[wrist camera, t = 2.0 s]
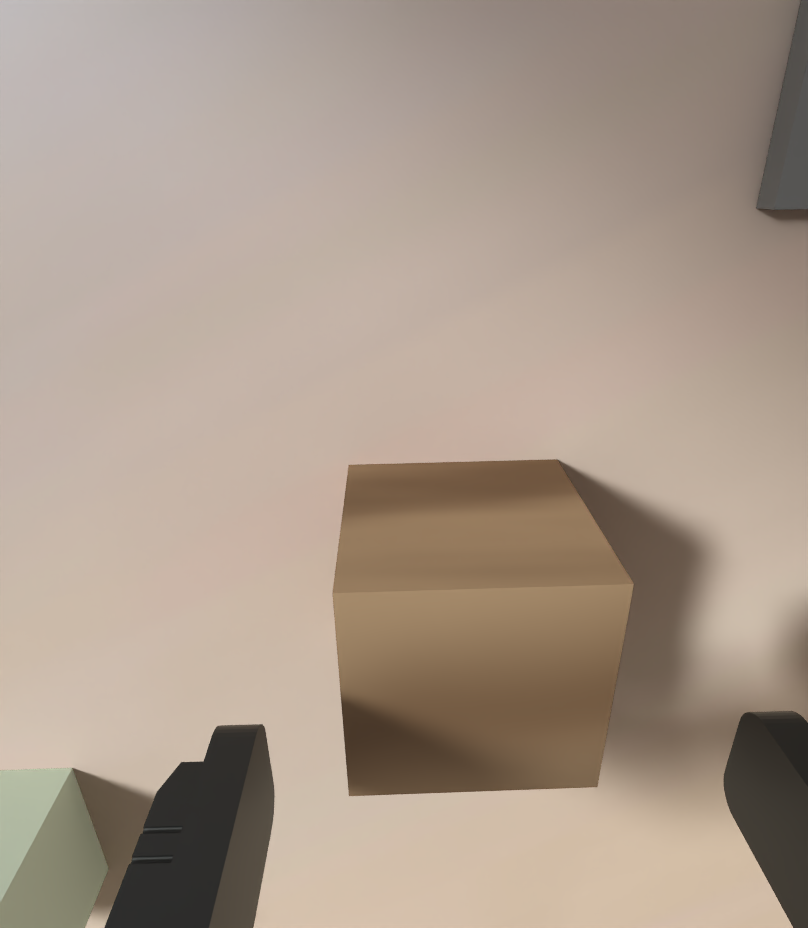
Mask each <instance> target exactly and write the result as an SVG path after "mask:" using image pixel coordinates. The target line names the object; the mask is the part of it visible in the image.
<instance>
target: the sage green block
mask: <svg viewBox="0 0 808 928" xmlns="http://www.w3.org/2000/svg"><path fill="white" fill-rule="evenodd" d="M108 869H109V868H108V865H107V862H106V860H105V857H104V854H103V851H102V849H101V846H100V843H99V840H98V838H97V835H96V832H95V829H94V826H93V824H92V821H91V818H90V815H89V813H88V810H87V807H86V804H85V802H84V799H83V796H82V793H81V790H80V788H79V785H78V782H77V779H76V777H75V774H74V771H73V768H53V769H24V770H0V928H85V926H86V924H87V921H88V919H89V916H90V914H91V911H92V909H93V906H94V904H95V902H96V899H97V897H98V894H99V892H100V889H101V887H102V884H103V882H104V879H105V877H106V874H107V872H108Z"/></svg>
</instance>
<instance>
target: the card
mask: <svg viewBox="0 0 808 928" xmlns="http://www.w3.org/2000/svg"><path fill="white" fill-rule="evenodd" d="M756 208H758V209H772V210H782V209H808V0H801V4H800V8H799V13H798V17H797V22H796V27H795V31H794V36H793V41H792V45H791V50H790V54H789V59H788V64H787V68H786V73H785V78H784V82H783V87H782V92H781V96H780V101H779V105H778V110H777V115H776V119H775V124H774V129H773V133H772V138H771V142H770V147H769V152H768V156H767V161H766V166H765V170H764V175H763V179H762V184H761V189H760V193H759V198H758V203H757V207H756Z"/></svg>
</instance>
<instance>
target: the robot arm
mask: <svg viewBox="0 0 808 928" xmlns="http://www.w3.org/2000/svg"><path fill="white" fill-rule="evenodd" d="M724 791H725V796H726V800H727V803H728V806H729V809H730V811H731V814H732V816H733V818H734V819H735V821H736V823H737V825H738V827H739V829H740V830H741V832H742V834H743V836H744V838H745V840H746V841H747V843H748V845H749V847H750V849H751V851H752V853H753V854H754V856H755V858H756V860H757V862H758V864H759V865H760V867H761V869H762V871H763V873H764V875H765V876H766V878H767V880H768V882H769V884H770V886H771V887H772V889H773V891H774V893H775V895H776V897H777V898H778V900H779V902H780V904H781V906H782V908H783V910H784V911H785V913H786V915H787V917H788V919H789V921H790V922H791V924H792V926H793V928H808V723H807V721H806V720H805V719H804V718H803V717H802V716H801V715H799V714H798V713H796V712H793V711H779V712H747V713H745V714H743V716H742V717H741V719H740V722H739V725H738V728H737V732H736V735H735V739H734V742H733V745H732V749H731V752H730V755H729V759H728V762H727V766H726V769H725V773H724ZM273 814H274V783H273V777H272V770H271V764H270V757H269V751H268V745H267V738H266V732H265V728H264V726H263V725H262V724H260V725H224V726H217V727H216V729H215V730H214V732H213V735H212V738H211V741H210V744H209V747H208V750H207V753H206V756H205V759H204V762H181V763H180V764H179V766H178V767H177V768H176V769H175V771H174V772H173V773H172V774H171V775H170V777H169V778H168V779H167V780H166V782H165V783H164V784H163V785H162V787H161V788H160V789H159V790H158V791H157V793H156V796H155V798H154V801H153V804H152V806H151V809H150V811H149V814H148V817H147V819H146V822H145V824H144V830H143V834H141V835H140V837H139V840H138V842H137V845H136V848H135V850H134V853H133V855H132V862H131V864H129V866H128V868H127V871H126V874H125V876H124V879H123V881H122V884H121V887H120V889H119V892H118V894H117V897H116V899H115V902H114V905H113V907H112V910H111V912H110V915H109V918H108V920H107V923H106V925H105V928H253V926H254V921H255V916H256V910H257V905H258V899H259V894H260V889H261V883H262V878H263V872H264V867H265V862H266V856H267V851H268V845H269V840H270V835H271V829H272V823H273Z"/></svg>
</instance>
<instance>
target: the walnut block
mask: <svg viewBox="0 0 808 928" xmlns="http://www.w3.org/2000/svg"><path fill="white" fill-rule="evenodd" d="M633 587H634V583H633V582H632V580H631V578H630V577H629V575H628V574H627V572H626V570H625V569H624V567H623V565H622V564H621V562H620V561H619V559H618V557H617V556H616V554H615V552H614V551H613V549H612V548H611V546H610V544H609V543H608V541H607V539H606V538H605V536H604V535H603V533H602V531H601V530H600V528H599V526H598V525H597V523H596V522H595V520H594V518H593V517H592V515H591V513H590V512H589V510H588V509H587V507H586V505H585V504H584V502H583V500H582V499H581V497H580V496H579V494H578V492H577V491H576V489H575V487H574V486H573V484H572V482H571V481H570V479H569V478H568V476H567V474H566V473H565V471H564V469H563V468H562V466H561V465H560V463H559V461H558V460H519V461H481V462H443V463H405V464H367V465H349V467H348V475H347V483H346V491H345V499H344V507H343V515H342V523H341V531H340V539H339V546H338V554H337V562H336V570H335V578H334V586H333V604H334V617H335V629H336V641H337V654H338V666H339V678H340V691H341V703H342V715H343V728H344V740H345V752H346V765H347V777H348V789H349V796H365V795H392V794H419V793H447V792H474V791H501V790H529V789H556V788H583V787H597V786H598V780H599V775H600V769H601V764H602V758H603V752H604V747H605V741H606V736H607V730H608V725H609V719H610V714H611V708H612V703H613V697H614V692H615V686H616V681H617V675H618V670H619V664H620V659H621V653H622V648H623V642H624V637H625V631H626V626H627V620H628V614H629V609H630V603H631V598H632V592H633Z"/></svg>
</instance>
